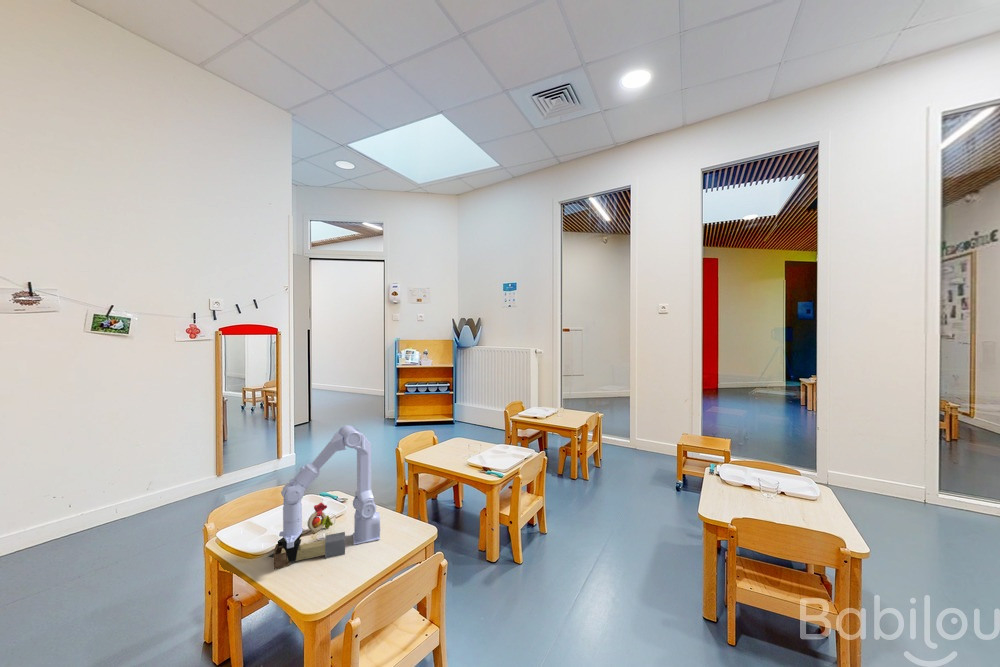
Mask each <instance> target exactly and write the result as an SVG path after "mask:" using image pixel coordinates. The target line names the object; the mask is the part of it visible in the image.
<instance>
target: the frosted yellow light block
mask: <svg viewBox="0 0 1000 667" xmlns="http://www.w3.org/2000/svg"><path fill="white" fill-rule="evenodd" d="M285 552H286V551H285V549H284V548H282V551H281V553H285ZM321 556H325V539H324V540H317V541H313V542H308V543H303V544H300V545H299V547H298V550H297V557H296V560H295V561H290V562H289V561H288V557H287V554H286V563H288V562H289V563H290V564H291V563H295V562H297V561H300V560H301V561H302V560H306V559H312V558H317V557H321Z"/></svg>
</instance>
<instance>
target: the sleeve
mask: <svg viewBox="0 0 1000 667" xmlns="http://www.w3.org/2000/svg"><path fill="white" fill-rule="evenodd" d="M324 540H325V555H324V558H325V559H330V558H334V557H340V556H345V555H346V532H345V531H343V532H335V533H332V534H331V533H330V534H326V535H325V539H324Z"/></svg>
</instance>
